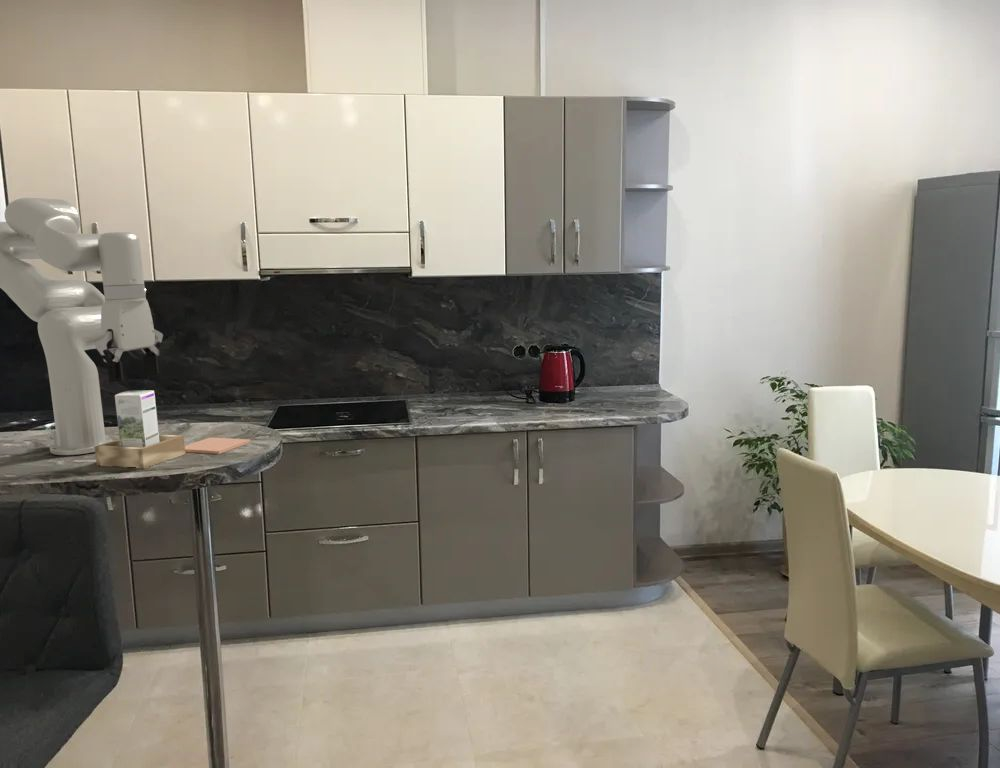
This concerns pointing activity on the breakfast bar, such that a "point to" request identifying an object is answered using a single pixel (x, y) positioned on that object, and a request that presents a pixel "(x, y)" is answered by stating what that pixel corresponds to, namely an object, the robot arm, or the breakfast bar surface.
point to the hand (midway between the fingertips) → (134, 377)
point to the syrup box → (137, 418)
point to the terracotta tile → (215, 445)
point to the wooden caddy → (140, 452)
